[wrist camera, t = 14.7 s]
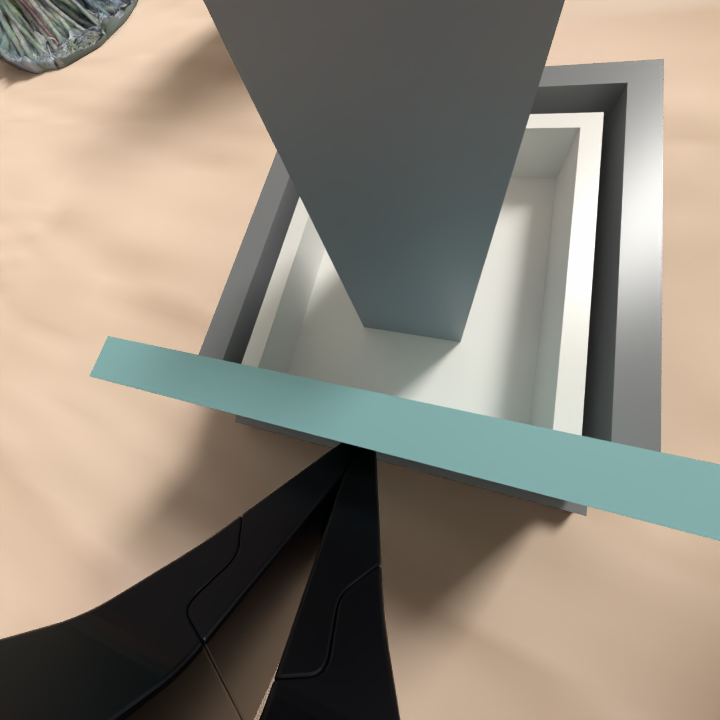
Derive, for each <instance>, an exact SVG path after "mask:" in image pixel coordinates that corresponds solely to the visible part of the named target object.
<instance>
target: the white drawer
mask: <svg viewBox="0 0 720 720" xmlns="http://www.w3.org/2000/svg"><path fill="white" fill-rule="evenodd" d="M603 117H604V112H593V113H556V114H530V116H529V119H528V122H527V126H526V129H525V132H524V135H523V139H522V142H521V145H520V149H519V152H518V155H517V158H516V162H515V165H514V168H513V172H512V175H511V178H510V181H509V185H508V188H507V191H506V195H505V198H504V201H503V204H502V208H501V211H500V214H499V218H498V221H497V224H496V227H495V231H494V234H493V237H492V241H491V244H490V247H489V250H488V254H487V257H486V260H485V263H484V267H483V270H482V273H481V277H480V280H479V283H478V286H477V290H476V293H475V296H474V300H473V303H472V306H471V309H470V313H469V316H468V319H467V323H466V326H465V329H464V332H463V336H462V339H461V342H457V341H450V340H444V339H437V338H431V337H425V336H418V335H412V334H405V333H399V332H392V331H386V330H379V329H373V328H366V327H364V326H363V324H362V322H361V320H360V318H359V316H358V314H357V312H356V310H355V308H354V306H353V304H352V302H351V300H350V298H349V296H348V294H347V292H346V290H345V288H344V286H343V283H342V281H341V279H340V277H339V275H338V273H337V271H336V269H335V267H334V265H333V263H332V261H331V259H330V257H329V255H328V253H327V251H326V249H325V247H324V245H323V243H322V241H321V239H320V237H319V235H318V233H317V231H316V229H315V226H314V224H313V222H312V220H311V218H310V216H309V214H308V212H307V210H306V208H305V206H304V204H303V202H302V200H301V198H300V197H299V200H298V203H297V205H296V208H295V211H294V214H293V217H292V220H291V223H290V226H289V228H288V231H287V234H286V237H285V240H284V243H283V246H282V248H281V251H280V254H279V257H278V260H277V263H276V266H275V269H274V271H273V274H272V277H271V280H270V283H269V286H268V289H267V292H266V294H265V297H264V300H263V303H262V306H261V309H260V312H259V315H258V317H257V320H256V323H255V326H254V329H253V332H252V335H251V338H250V340H249V343H248V346H247V349H246V352H245V355H244V358H243V361H242V363H241V364H238V363H233V362H229V361H224V360H219V359H214V358H210V357H205V356H200V355H195V354H191V353H186V352H181V351H176V350H172V349H167V348H162V347H157V346H153V345H148V344H143V343H138V342H134V341H129V340H124V339H119V338H115V337H110V336H108V338H107V340H106V342H105V344H104V346H103V348H102V351H101V353H100V355H99V357H98V359H97V361H96V364H95V366H94V368H93V370H92V372H91V374H90V377H94V378H98V379H102V380H106V381H110V382H113V383H117V384H121V385H125V386H129V387H133V388H136V389H140V390H144V391H148V392H152V393H156V394H159V395H163V396H167V397H171V398H175V399H179V400H182V401H186V402H190V403H194V404H198V405H202V406H205V407H209V408H213V409H217V410H221V411H225V412H228V413H232V414H236V415H240V416H244V417H248V418H251V419H255V420H259V421H263V422H267V423H271V424H274V425H278V426H282V427H286V428H290V429H293V430H297V431H301V432H305V433H309V434H313V435H316V436H320V437H324V438H328V439H332V440H336V441H339V442H343V443H347V444H351V445H355V446H359V447H362V448H366V449H370V450H374V451H378V452H382V453H385V454H389V455H393V456H397V457H401V458H405V459H408V460H412V461H416V462H420V463H424V464H428V465H431V466H435V467H439V468H443V469H447V470H451V471H454V472H458V473H462V474H466V475H470V476H474V477H477V478H481V479H485V480H489V481H493V482H497V483H500V484H504V485H508V486H512V487H516V488H520V489H523V490H527V491H531V492H535V493H539V494H543V495H546V496H550V497H554V498H558V499H562V500H566V501H569V502H573V503H577V504H581V505H585V506H589V507H592V508H596V509H600V510H604V511H608V512H612V513H615V514H619V515H623V516H627V517H631V518H635V519H638V520H642V521H646V522H650V523H654V524H657V525H661V526H665V527H669V528H673V529H677V530H680V531H684V532H688V533H692V534H696V535H700V536H703V537H707V538H711V539H715V540H719V541H720V465H719V464H714V463H709V462H704V461H700V460H695V459H690V458H685V457H681V456H676V455H671V454H666V453H662V452H657V451H652V450H647V449H643V448H638V447H633V446H628V445H624V444H619V443H614V442H609V441H605V440H600V439H595V438H590V437H586V436H582V424H583V409H584V395H585V380H586V365H587V351H588V336H589V322H590V307H591V292H592V278H593V263H594V248H595V234H596V219H597V204H598V190H599V175H600V161H601V146H602V131H603Z"/></svg>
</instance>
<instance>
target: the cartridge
mask: <svg viewBox="0 0 720 720" xmlns="http://www.w3.org/2000/svg"><path fill="white" fill-rule="evenodd" d="M203 1H204V3H205V5H206V7H207V9H208V11H209V13H210V15H211V17H212V19H213V21H214V23H215V25H216V27H217V29H218V31H219V33H220V35H221V37H222V39H223V41H224V43H225V45H226V47H227V49H228V51H229V53H230V56H231V58H232V60H233V62H234V64H235V66H236V68H237V70H238V72H239V74H240V76H241V78H242V80H243V82H244V84H245V86H246V88H247V90H248V92H249V94H250V96H251V98H252V100H253V102H254V104H255V106H256V108H257V110H258V113H259V115H260V117H261V119H262V121H263V123H264V125H265V127H266V129H267V131H268V133H269V135H270V137H271V139H272V141H273V143H274V145H275V147H276V149H277V151H278V153H279V155H280V157H281V159H282V161H283V163H284V165H285V167H286V170H287V172H288V174H289V176H290V178H291V180H292V182H293V184H294V186H295V188H296V190H297V192H298V194H299V196H300V198H301V200H302V202H303V204H304V206H305V208H306V210H307V212H308V214H309V216H310V218H311V220H312V222H313V224H314V226H315V229H316V231H317V233H318V235H319V237H320V239H321V241H322V243H323V245H324V247H325V249H326V251H327V253H328V255H329V257H330V259H331V261H332V263H333V265H334V267H335V269H336V271H337V273H338V275H339V277H340V279H341V281H342V283H343V286H344V288H345V290H346V292H347V294H348V296H349V298H350V300H351V302H352V304H353V306H354V308H355V310H356V312H357V314H358V316H359V318H360V320H361V322H362V324H363V326H364V327H366V328H373V329H379V330H386V331H392V332H399V333H405V334H412V335H418V336H425V337H431V338H437V339H444V340H450V341H457V342H461V339H462V336H463V332H464V329H465V326H466V323H467V319H468V316H469V313H470V309H471V306H472V303H473V300H474V296H475V293H476V290H477V286H478V283H479V280H480V277H481V273H482V270H483V267H484V263H485V260H486V257H487V254H488V250H489V247H490V244H491V241H492V237H493V234H494V231H495V227H496V224H497V221H498V218H499V214H500V211H501V208H502V204H503V201H504V198H505V195H506V191H507V188H508V185H509V181H510V178H511V175H512V172H513V168H514V165H515V162H516V158H517V155H518V152H519V149H520V145H521V142H522V139H523V135H524V132H525V129H526V126H527V122H528V119H529V116H530V113H531V109H532V106H533V103H534V99H535V96H536V93H537V90H538V86H539V83H540V80H541V76H542V73H543V70H544V67H545V63H546V60H547V57H548V53H549V50H550V47H551V44H552V40H553V37H554V34H555V30H556V27H557V24H558V21H559V17H560V14H561V11H562V7H563V4H564V1H565V0H203Z"/></svg>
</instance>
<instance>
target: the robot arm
mask: <svg viewBox="0 0 720 720" xmlns="http://www.w3.org/2000/svg"><path fill="white" fill-rule="evenodd" d="M279 662H280V663H279ZM278 664H279V666H278ZM277 666H278V669H277ZM276 669H277V672H276V675H275V681H274V682H273V684H272V687H271V690H270V693H269V696H268V698H267V701H266V704H265V706H264V709H263V712H262V714H261V717H260V719H259V720H400V715H399V708H398V702H397V696H396V690H395V683H394V677H393V671H392V665H391V658H390V652H389V645H388V637H387V630H386V622H385V614H384V601H383V587H382V569H381V546H380V524H379V502H378V479H377V457H376V451H374V450H370V449H366V448H362V447H359V446H355V445H351V444H347V443H343V442H341V443H340V444H339V445H337V446H336V447H334V448H333V449H332V450H330V451H329V452H328V453H326V454H325V455H324V456H322V457H321V458H319V459H318V460H317V461H315V462H314V463H313V464H311V465H310V466H308V467H307V468H306V469H304V470H303V471H302V472H300V473H299V474H298V475H296V476H295V477H293V478H292V479H291V480H289V481H288V482H287V483H285V484H284V485H282V486H281V487H280V488H278V489H277V490H276V491H274V492H273V493H272V494H270V495H269V496H267V497H266V498H265V499H263V500H262V501H261V502H259V503H258V504H256V505H255V506H254V507H252V508H251V509H250V510H248V511H247V512H246V513H244V514H243V515H242V517H238V518H237V519H236V520H234V521H233V522H232V523H230V524H229V525H227V526H226V527H225V528H223V529H222V530H220V531H219V532H218V533H216V534H215V535H213V536H212V537H210V538H209V539H207V540H206V541H205V542H203V543H202V544H200V545H198V546H197V547H195V548H194V549H192V550H191V551H189V552H187V553H186V554H184V555H183V556H181V557H180V558H178V559H176V560H175V561H173V562H171V563H170V564H168V565H166V566H165V567H163V568H162V569H160V570H158V571H157V572H155V573H153V574H152V575H150V576H148V577H147V578H145V579H143V580H142V581H140V582H139V583H137V584H135V585H134V586H132V587H130V588H129V589H127V590H125V591H124V592H122V593H121V594H119V595H117V596H116V597H114V598H112V599H110V600H109V601H107V602H105V603H103V604H102V605H100V606H98V607H96V608H94V609H92V610H90V611H88V612H85V613H83V614H81V615H79V616H76V617H74V618H71V619H68V620H66V621H63V622H60V623H57V624H53V625H50V626H46V627H43V628H39V629H36V630H32V631H28V632H25V633H21V634H18V635H14V636H11V637H7V638H3V639H0V720H253V719H254V717H255V715H256V713H257V711H258V708H259V706H260V704H261V702H262V700H263V697H264V695H265V693H266V691H267V689H268V686H269V684H270V682H271V680H272V678H273V675H274V673H275V671H276Z"/></svg>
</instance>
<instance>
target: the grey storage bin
mask: <svg viewBox="0 0 720 720" xmlns="http://www.w3.org/2000/svg"><path fill="white" fill-rule="evenodd" d="M663 85H664V59H657V60H641V61H625V62H609V63H593V64H578V65H562V66H546V67H544V70H543V73H542V76H541V80H540V83H539V86H538V90H537V93H536V96H535V99H534V103H533V106H532V109H531V113H530V114H556V113H593V112H604V117H603V131H602V146H601V161H600V175H599V190H598V204H597V219H596V234H595V248H594V263H593V278H592V292H591V307H590V322H589V336H588V351H587V365H586V380H585V395H584V409H583V424H582V436H586V437H590V438H595V439H600V440H605V441H609V442H614V443H619V444H624V445H628V446H633V447H638V448H643V449H647V450H652V451H657V452H661V341H662V213H663ZM299 197H300V196H299V194H298V192H297V190H296V188H295V186H294V184H293V182H292V180H291V178H290V176H289V174H288V172H287V170H286V167H285V165H284V163H283V161H282V159H281V157H280V155H279V153H278V151H277V153H276V155H275V158H274V161H273V163H272V166H271V168H270V171H269V174H268V176H267V179H266V181H265V184H264V187H263V189H262V192H261V194H260V197H259V200H258V202H257V205H256V207H255V210H254V213H253V215H252V218H251V220H250V223H249V226H248V228H247V231H246V233H245V236H244V239H243V241H242V244H241V246H240V249H239V251H238V254H237V257H236V259H235V262H234V264H233V267H232V270H231V272H230V275H229V277H228V280H227V283H226V285H225V288H224V290H223V293H222V296H221V298H220V301H219V303H218V306H217V309H216V311H215V314H214V316H213V319H212V322H211V324H210V327H209V329H208V332H207V335H206V337H205V340H204V342H203V345H202V347H201V350H200V353H199V355H200V356H205V357H210V358H214V359H219V360H224V361H229V362H233V363H238V364H241V363H242V361H243V358H244V355H245V352H246V349H247V346H248V343H249V340H250V338H251V335H252V332H253V329H254V326H255V323H256V320H257V317H258V315H259V312H260V309H261V306H262V303H263V300H264V297H265V294H266V292H267V289H268V286H269V283H270V280H271V277H272V274H273V271H274V269H275V266H276V263H277V260H278V257H279V254H280V251H281V248H282V246H283V243H284V240H285V237H286V234H287V231H288V228H289V226H290V223H291V220H292V217H293V214H294V211H295V208H296V205H297V203H298V200H299ZM235 422H238V423H241V424H245V425H249V426H253V427H256V428H260V429H264V430H268V431H271V432H275V433H279V434H282V435H286V436H290V437H294V438H297V439H301V440H305V441H309V442H312V443H316V444H320V445H323V446H327V447H331V448H334V447H336V446H337V445H339V444H340V443H341V442H339V441H336V440H332V439H328V438H324V437H320V436H316V435H313V434H309V433H305V432H301V431H297V430H293V429H290V428H286V427H282V426H278V425H274V424H271V423H267V422H263V421H259V420H255V419H251V418H248V417H244V416H240V415H237V418H236V421H235ZM376 457H377V460H379V461H383V462H387V463H391V464H394V465H398V466H402V467H405V468H409V469H413V470H417V471H420V472H424V473H428V474H431V475H435V476H439V477H443V478H446V479H450V480H454V481H458V482H461V483H465V484H469V485H472V486H476V487H480V488H484V489H487V490H491V491H495V492H499V493H502V494H506V495H510V496H513V497H517V498H521V499H525V500H528V501H532V502H536V503H540V504H543V505H547V506H551V507H554V508H558V509H562V510H566V511H569V512H573V513H577V514H581V515H584V516H586V513H587V506H585V505H581V504H577V503H573V502H569V501H566V500H562V499H558V498H554V497H550V496H546V495H543V494H539V493H535V492H531V491H527V490H523V489H520V488H516V487H512V486H508V485H504V484H500V483H497V482H493V481H489V480H485V479H481V478H477V477H474V476H470V475H466V474H462V473H458V472H454V471H451V470H447V469H443V468H439V467H435V466H431V465H428V464H424V463H420V462H416V461H412V460H408V459H405V458H401V457H397V456H393V455H389V454H385V453H382V452H378V451H376Z"/></svg>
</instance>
